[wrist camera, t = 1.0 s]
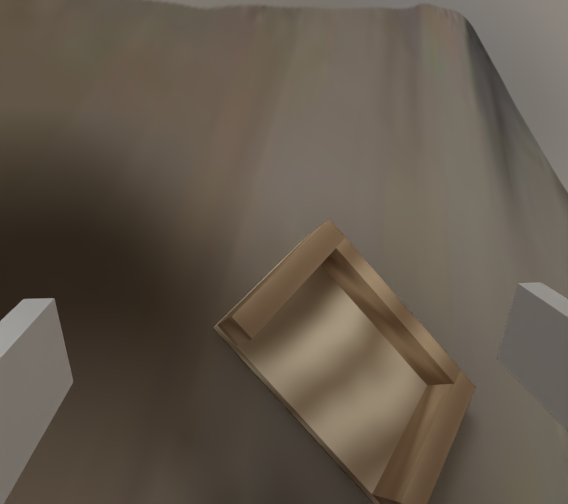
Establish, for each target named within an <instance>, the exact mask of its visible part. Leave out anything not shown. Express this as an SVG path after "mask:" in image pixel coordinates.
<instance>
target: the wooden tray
mask: <svg viewBox="0 0 568 504" xmlns="http://www.w3.org/2000/svg"><path fill="white" fill-rule="evenodd" d="M213 328H214V329H215V330H216V331H217V333H218V334H219V335H220V336H221V337H222V338H223V339H224V340H225V341H226V342H227V343H228V345H229V346H230V347H231V348H232V349H233V350H234V351H235V352H236V353H237V354H238V355H239V357H240V358H241V359H242V360H243V361H244V362H245V363H246V364H247V365H248V366H249V368H250V369H251V370H252V371H253V372H254V373H255V374H256V375H257V376H258V377H259V378H260V380H261V381H262V382H263V383H264V384H265V385H266V386H267V387H268V388H269V389H270V390H271V392H272V393H273V394H274V395H275V396H276V397H277V398H278V399H279V400H280V401H281V402H282V404H283V405H284V406H285V407H286V408H287V409H288V410H289V411H290V412H291V413H292V415H293V416H294V417H295V418H296V419H297V420H298V421H299V422H300V423H301V424H302V425H303V427H304V428H305V429H306V430H307V431H308V432H309V433H310V434H311V435H312V436H313V437H314V439H315V440H316V441H317V442H318V443H319V444H320V445H321V446H322V447H323V448H324V450H325V451H326V452H327V453H328V454H329V455H330V456H331V457H332V458H333V459H334V460H335V462H336V463H337V464H338V465H339V466H340V467H341V468H342V469H343V470H344V471H345V472H346V474H347V475H348V476H349V477H350V478H351V479H352V480H353V481H354V482H355V483H356V484H357V486H358V487H359V488H360V489H361V490H362V491H363V492H364V493H365V494H366V495H367V497H368V498H369V499H370V500H371V501H372V502H373V503H374V504H428V502H429V499H430V497H431V494H432V492H433V490H434V487H435V485H436V482H437V480H438V477H439V475H440V473H441V470H442V468H443V465H444V463H445V461H446V458H447V456H448V453H449V451H450V448H451V446H452V444H453V441H454V439H455V436H456V434H457V432H458V429H459V427H460V424H461V422H462V419H463V417H464V415H465V412H466V410H467V407H468V405H469V403H470V400H471V398H472V395H473V393H474V390H475V388H476V387H475V386H474V384H473V383H472V382H471V381H470V380H469V379H468V378H467V376H466V375H465V374H464V373H463V372H462V371H461V370H460V368H459V367H458V366H457V365H456V364H455V363H454V361H453V360H452V359H451V358H450V357H449V356H448V355H447V353H446V352H445V351H444V350H443V349H442V348H441V347H440V345H439V344H438V343H437V342H436V341H435V340H434V338H433V337H432V336H431V335H430V334H429V333H428V332H427V330H426V329H425V328H424V327H423V326H422V325H421V324H420V322H419V321H418V320H417V319H416V318H415V317H414V316H413V314H412V313H411V312H410V311H409V310H408V309H407V307H406V306H405V305H404V304H403V303H402V302H401V301H400V299H399V298H398V297H397V296H396V295H395V294H394V293H393V291H392V290H391V289H390V288H389V287H388V286H387V284H386V283H385V282H384V281H383V280H382V279H381V278H380V276H379V275H378V274H377V273H376V272H375V271H374V270H373V268H372V267H371V266H370V265H369V264H368V263H367V262H366V260H365V259H364V258H363V257H362V256H361V255H360V253H359V252H358V251H357V250H356V249H355V248H354V247H353V245H352V244H351V243H350V242H349V241H348V240H347V239H346V237H345V236H344V235H343V234H342V233H341V232H340V230H339V229H338V228H337V227H336V226H335V225H334V224H333V222H332V221H331V220H330V219H329V220H328V221H327V222H325V223H324V224H323V225H321V226H320V227H318V228H317V229H316V230H314V231H313V232H312V233H310V234H309V235H308V236H306V237H305V238H304V239H303V240H302V241H301V242H300V243H299V244H298V245H297V246H296V247H295V248H294V249H293V250H292V251H291V252H290V253H289V254H288V255H287V256H286V257H285V258H283V259H282V260H281V261H280V262H279V263H278V264H277V265H276V266H275V267H274V268H273V269H272V270H271V271H270V272H269V273H268V274H267V275H266V276H265V277H264V278H263V279H262V280H261V281H260V282H259V283H258V284H257V285H256V286H255V287H254V288H253V289H252V290H251V291H250V292H249V293H248V294H247V295H246V296H245V297H244V298H243V299H241V300H240V301H239V302H238V303H237V304H236V305H235V306H234V307H233V308H232V309H231V310H230V311H229V312H228V313H227V314H226V315H225V316H224V317H223V318H222V319H221V320H220V321H219V322H218V323H217V324H216V325H215V326H214V327H213Z"/></svg>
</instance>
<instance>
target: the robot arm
mask: <svg viewBox="0 0 568 504" xmlns="http://www.w3.org/2000/svg"><path fill="white" fill-rule="evenodd" d="M497 360H498V361H499V362H500V363H501V364H502V365H503V366H504V367H505V368H506V369H507V370H508V371H509V372H510V373H511V374H512V375H513V376H514V377H515V378H516V379H517V380H518V381H519V382H520V383H521V384H522V385H523V386H524V387H525V388H526V389H527V390H528V391H529V393H530V394H531V395H532V396H533V397H534V398H535V399H536V400H537V401H538V402H539V403H540V404H541V405H542V406H543V407H544V408H545V409H546V410H547V411H548V412H549V413H550V414H551V415H552V416H553V417H554V418H555V419H556V420H557V421H558V422H559V423H560V424H561V425H562V426H563V427H564V428H565V430H566V431H567V432H568V299H567V298H565V297H564V296H562V295H561V294H559V293H557V292H556V291H554V290H553V289H551V288H549V287H548V286H546V285H545V284H543V283H541V282H539V283H518V284H517V288H516V291H515V295H514V298H513V302H512V306H511V309H510V313H509V317H508V320H507V324H506V327H505V331H504V335H503V338H502V342H501V346H500V349H499V353H498V357H497ZM72 384H73V378H72V373H71V369H70V364H69V360H68V356H67V351H66V347H65V342H64V338H63V334H62V329H61V325H60V321H59V316H58V312H57V307H56V303H55V299H54V298H41V299H23V300H22V301H21V302H20V303H19V304H18V305H17V306H16V307H15V308H13V309H12V310H11V311H10V312H9V313H8V314H7V315H6V316H5V317H4V318H3V319H2V320H1V321H0V504H4V503H5V501H6V499H7V497H8V496H9V494H10V492H11V490H12V489H13V487H14V485H15V483H16V482H17V480H18V478H19V476H20V475H21V473H22V471H23V469H24V468H25V466H26V464H27V462H28V461H29V459H30V457H31V455H32V454H33V452H34V450H35V448H36V447H37V445H38V443H39V441H40V440H41V438H42V436H43V434H44V433H45V431H46V429H47V427H48V426H49V424H50V422H51V420H52V419H53V417H54V415H55V413H56V412H57V410H58V408H59V406H60V405H61V403H62V401H63V399H64V398H65V396H66V394H67V392H68V391H69V389H70V387H71V385H72Z"/></svg>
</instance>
